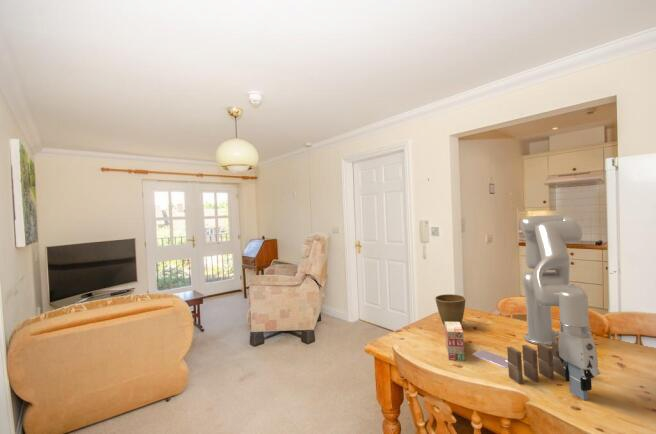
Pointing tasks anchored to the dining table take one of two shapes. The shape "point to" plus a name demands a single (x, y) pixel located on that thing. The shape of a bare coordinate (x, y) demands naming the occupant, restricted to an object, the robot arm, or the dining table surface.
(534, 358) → the domino
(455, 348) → the colourful printed box
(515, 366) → the domino
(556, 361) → the domino
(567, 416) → the dining table surface
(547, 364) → the domino
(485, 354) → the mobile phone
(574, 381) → the domino
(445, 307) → the plant pot
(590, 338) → the robot arm
